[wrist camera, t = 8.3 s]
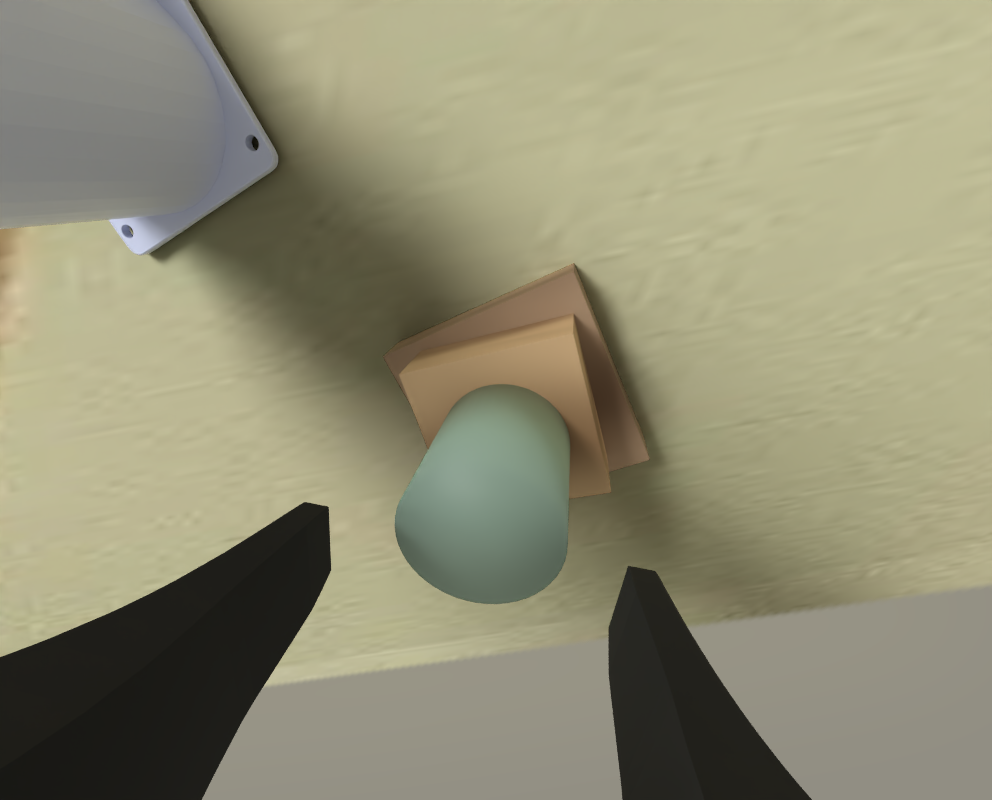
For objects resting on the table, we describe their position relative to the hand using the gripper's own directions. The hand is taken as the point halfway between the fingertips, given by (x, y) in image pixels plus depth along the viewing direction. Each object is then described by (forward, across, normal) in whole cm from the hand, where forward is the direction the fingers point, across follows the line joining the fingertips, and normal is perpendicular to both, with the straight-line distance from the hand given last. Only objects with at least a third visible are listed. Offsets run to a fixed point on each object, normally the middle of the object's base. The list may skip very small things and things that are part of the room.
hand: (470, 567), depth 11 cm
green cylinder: (+6, 0, 0) cm, 6 cm away
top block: (+8, 0, 0) cm, 9 cm away
